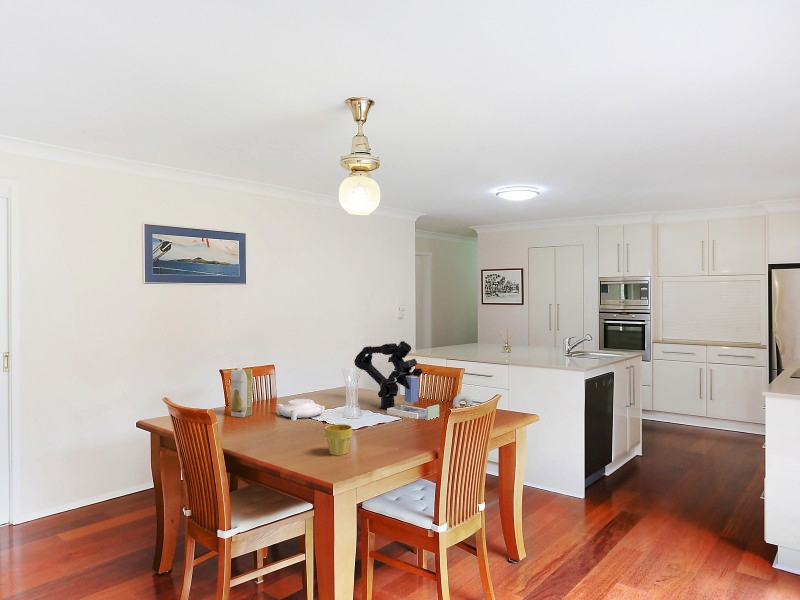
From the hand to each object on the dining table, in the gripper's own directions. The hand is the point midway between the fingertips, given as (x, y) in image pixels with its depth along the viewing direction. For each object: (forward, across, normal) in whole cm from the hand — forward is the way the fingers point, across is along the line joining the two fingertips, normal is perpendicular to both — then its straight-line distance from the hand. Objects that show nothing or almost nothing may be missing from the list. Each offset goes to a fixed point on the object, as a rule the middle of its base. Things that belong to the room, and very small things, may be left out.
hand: (413, 388), depth 277 cm
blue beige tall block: (+4, 0, +6) cm, 7 cm away
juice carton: (-26, -67, +46) cm, 85 cm away
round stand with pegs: (-14, -43, +34) cm, 57 cm away
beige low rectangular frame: (+8, 0, +11) cm, 13 cm away
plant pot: (+32, -65, -13) cm, 74 cm away
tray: (+11, +1, +7) cm, 13 cm away
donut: (+18, +22, 0) cm, 29 cm away
